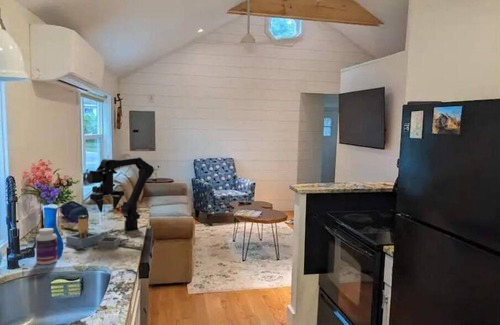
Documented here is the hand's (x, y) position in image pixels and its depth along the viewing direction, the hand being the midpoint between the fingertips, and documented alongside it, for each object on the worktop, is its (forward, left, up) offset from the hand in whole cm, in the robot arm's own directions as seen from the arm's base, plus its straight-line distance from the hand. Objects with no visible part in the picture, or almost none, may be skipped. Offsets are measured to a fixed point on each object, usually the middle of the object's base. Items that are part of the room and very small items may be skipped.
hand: (107, 210), depth 206 cm
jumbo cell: (+14, +13, -12) cm, 23 cm away
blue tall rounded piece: (+26, -13, -13) cm, 32 cm away
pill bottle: (+31, +35, -13) cm, 49 cm away
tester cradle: (+3, +24, -13) cm, 27 cm away
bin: (+14, +13, -13) cm, 23 cm away
